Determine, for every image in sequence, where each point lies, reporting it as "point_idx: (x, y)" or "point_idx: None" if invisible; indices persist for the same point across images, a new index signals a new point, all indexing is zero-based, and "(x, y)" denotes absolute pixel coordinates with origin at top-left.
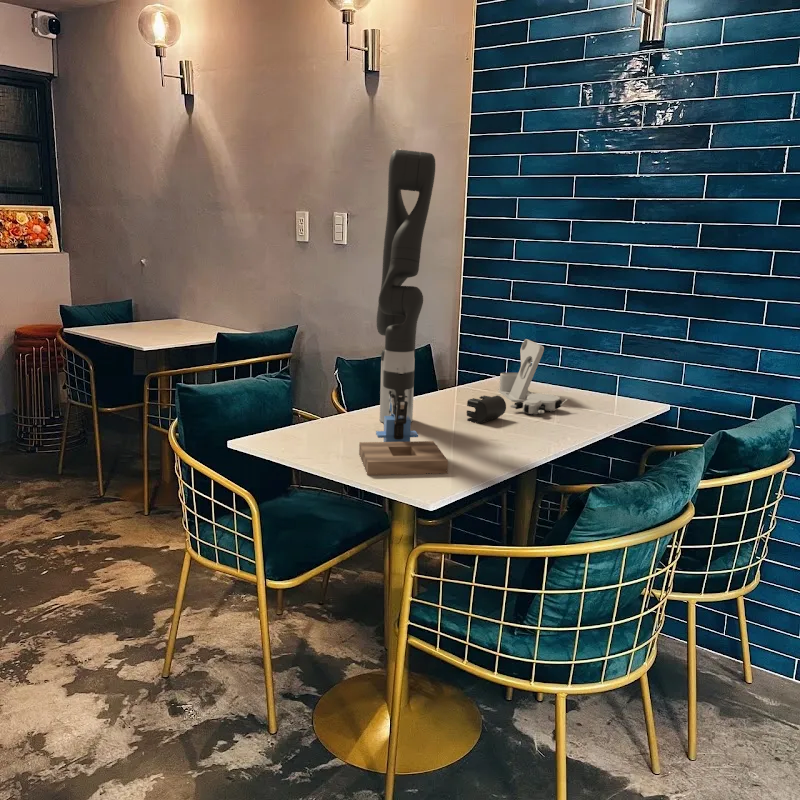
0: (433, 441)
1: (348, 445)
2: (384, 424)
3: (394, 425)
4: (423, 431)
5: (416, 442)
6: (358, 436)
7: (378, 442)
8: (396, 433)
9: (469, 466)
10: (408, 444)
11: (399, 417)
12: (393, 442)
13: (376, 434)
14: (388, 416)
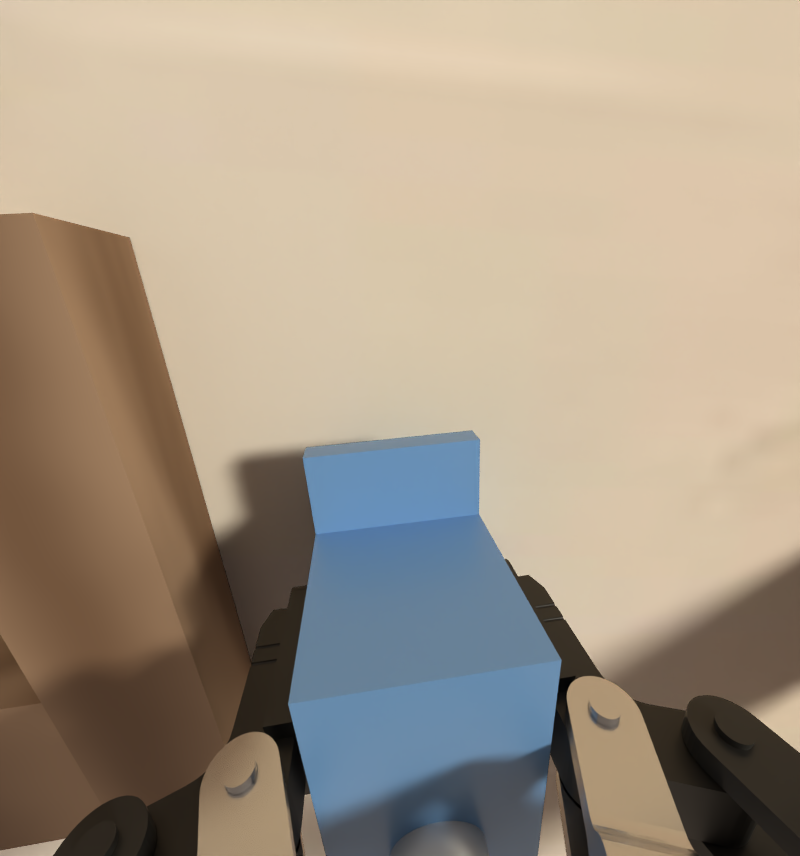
0: None
1: (440, 143)
2: (470, 573)
3: (284, 707)
4: (703, 663)
5: (184, 727)
6: (708, 268)
7: (97, 449)
8: (262, 645)
9: (42, 845)
10: (103, 684)
11: (453, 817)
12: (139, 581)
13: (420, 437)
14: (518, 711)
